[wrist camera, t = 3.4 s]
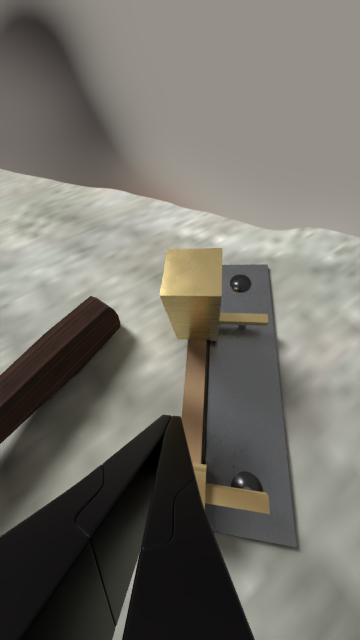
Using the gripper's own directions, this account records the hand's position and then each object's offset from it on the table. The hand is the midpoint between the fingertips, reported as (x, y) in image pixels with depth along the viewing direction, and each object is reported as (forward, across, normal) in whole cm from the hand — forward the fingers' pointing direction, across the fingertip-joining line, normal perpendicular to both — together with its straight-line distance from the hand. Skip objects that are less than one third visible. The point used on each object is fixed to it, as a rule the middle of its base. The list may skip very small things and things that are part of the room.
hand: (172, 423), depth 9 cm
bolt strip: (+13, +5, -5) cm, 15 cm away
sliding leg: (+16, +2, -1) cm, 16 cm away
